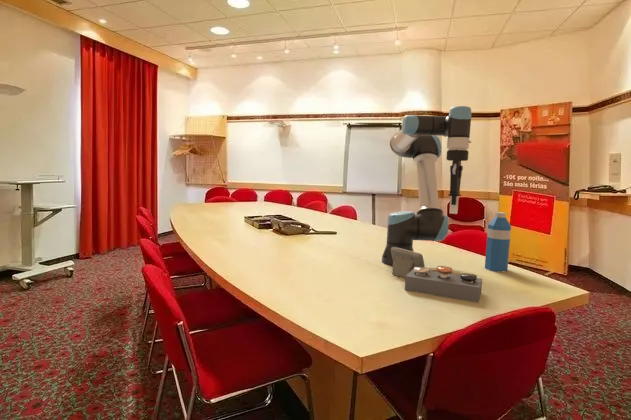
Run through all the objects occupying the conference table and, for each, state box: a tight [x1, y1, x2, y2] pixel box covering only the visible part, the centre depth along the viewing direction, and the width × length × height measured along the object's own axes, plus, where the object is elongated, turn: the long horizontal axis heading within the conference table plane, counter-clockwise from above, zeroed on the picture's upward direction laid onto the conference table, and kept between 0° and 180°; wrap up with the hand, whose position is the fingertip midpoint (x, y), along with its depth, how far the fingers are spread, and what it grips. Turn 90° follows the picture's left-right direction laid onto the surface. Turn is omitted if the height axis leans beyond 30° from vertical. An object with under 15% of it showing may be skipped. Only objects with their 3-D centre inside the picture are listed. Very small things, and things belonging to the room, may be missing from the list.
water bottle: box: [484, 211, 512, 273], centre depth 167 cm, size 9×9×25 cm
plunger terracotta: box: [435, 265, 453, 280], centre depth 134 cm, size 5×5×5 cm
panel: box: [404, 269, 483, 303], centre depth 134 cm, size 24×12×5 cm, turn 62°
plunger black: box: [460, 272, 478, 283], centre depth 130 cm, size 5×5×5 cm
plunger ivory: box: [413, 266, 430, 276], centre depth 138 cm, size 5×5×5 cm
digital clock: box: [391, 247, 426, 279], centre depth 153 cm, size 16×9×11 cm, turn 23°
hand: (453, 213), depth 143 cm, fingers closed
